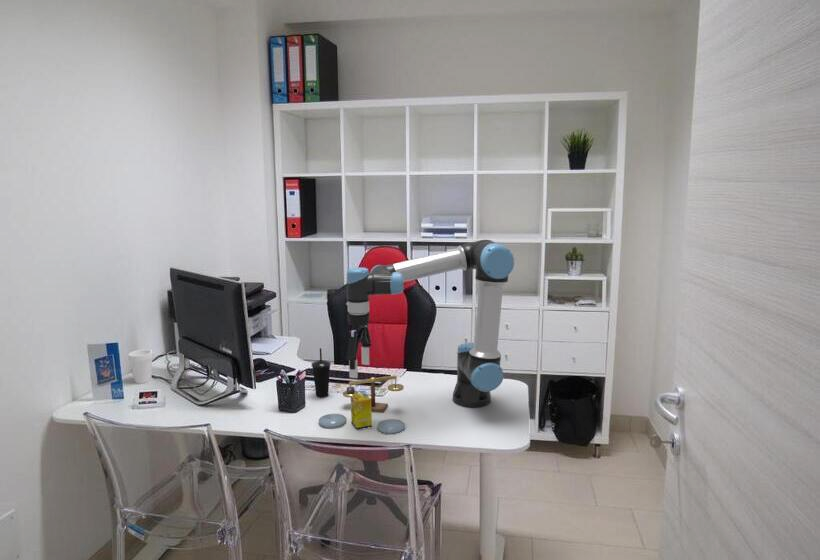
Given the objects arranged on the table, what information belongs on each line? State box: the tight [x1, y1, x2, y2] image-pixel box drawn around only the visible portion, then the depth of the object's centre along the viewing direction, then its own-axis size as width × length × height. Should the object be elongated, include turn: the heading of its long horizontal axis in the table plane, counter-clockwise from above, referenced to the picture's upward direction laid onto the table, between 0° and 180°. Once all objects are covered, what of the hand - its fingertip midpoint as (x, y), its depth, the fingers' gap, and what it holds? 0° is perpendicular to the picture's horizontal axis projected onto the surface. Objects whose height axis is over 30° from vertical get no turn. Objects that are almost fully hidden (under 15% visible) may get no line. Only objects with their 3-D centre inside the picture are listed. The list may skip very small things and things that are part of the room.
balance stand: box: [370, 382, 389, 414], centre depth 222 cm, size 10×6×11 cm, turn 77°
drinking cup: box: [311, 348, 331, 399], centre depth 234 cm, size 8×8×20 cm
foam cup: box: [128, 349, 154, 385], centre depth 252 cm, size 10×9×13 cm
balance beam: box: [342, 375, 405, 398], centre depth 221 cm, size 24×6×9 cm, turn 77°
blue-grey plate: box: [376, 418, 406, 435], centre depth 206 cm, size 10×10×1 cm
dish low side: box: [318, 413, 347, 430], centre depth 211 cm, size 10×10×1 cm
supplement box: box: [350, 392, 373, 431], centre depth 207 cm, size 6×6×11 cm
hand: (359, 370), depth 205 cm, fingers open, 13 cm apart
